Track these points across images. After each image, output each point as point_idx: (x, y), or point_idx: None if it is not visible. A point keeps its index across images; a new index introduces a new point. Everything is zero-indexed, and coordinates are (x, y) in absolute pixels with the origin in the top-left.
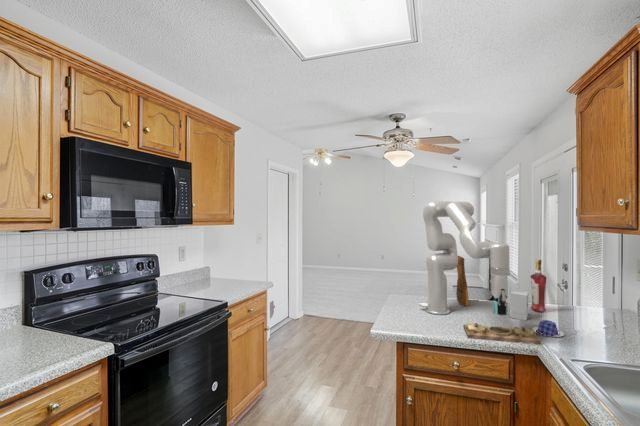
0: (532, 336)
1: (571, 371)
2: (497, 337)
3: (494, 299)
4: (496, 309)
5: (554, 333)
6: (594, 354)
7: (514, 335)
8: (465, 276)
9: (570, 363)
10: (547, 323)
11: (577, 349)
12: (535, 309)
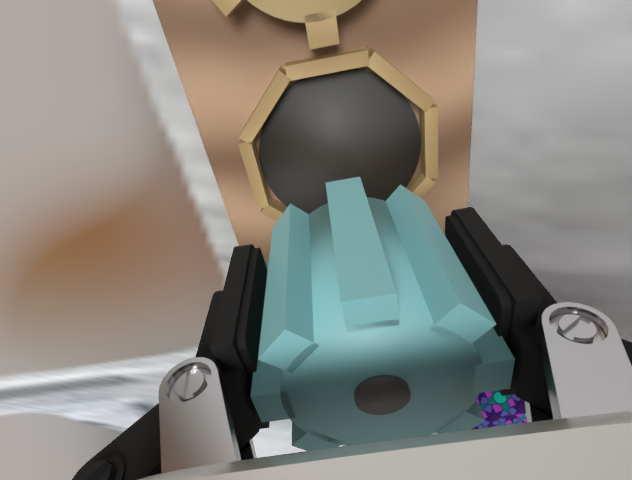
0: None
1: (4, 392)
2: (201, 132)
3: (601, 320)
4: (276, 261)
5: None
6: (261, 456)
7: None
8: None
9: (97, 398)
10: (479, 428)
11: (288, 429)
12: None
